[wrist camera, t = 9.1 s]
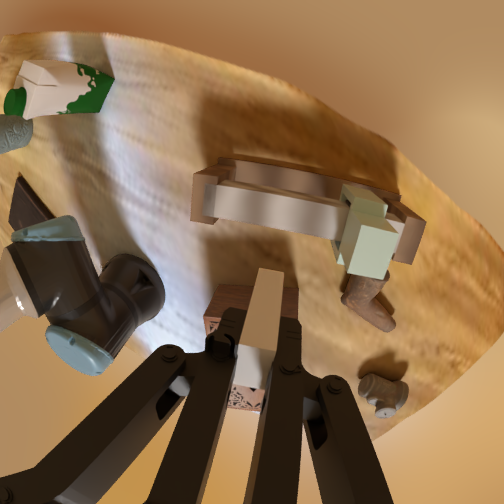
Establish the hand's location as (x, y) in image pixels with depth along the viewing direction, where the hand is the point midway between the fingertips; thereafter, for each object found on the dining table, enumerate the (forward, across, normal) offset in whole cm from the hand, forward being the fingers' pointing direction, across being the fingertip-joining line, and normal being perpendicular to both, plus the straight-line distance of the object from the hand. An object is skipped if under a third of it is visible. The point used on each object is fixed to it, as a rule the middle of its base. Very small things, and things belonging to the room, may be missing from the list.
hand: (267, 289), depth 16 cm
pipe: (+27, -20, +14) cm, 36 cm away
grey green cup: (+28, +63, -10) cm, 70 cm away
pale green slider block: (+22, -10, 0) cm, 24 cm away
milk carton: (+28, +37, -16) cm, 49 cm away
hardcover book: (+29, +60, +15) cm, 68 cm away
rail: (+27, -4, 0) cm, 27 cm away
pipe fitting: (+27, -32, +38) cm, 56 cm away
